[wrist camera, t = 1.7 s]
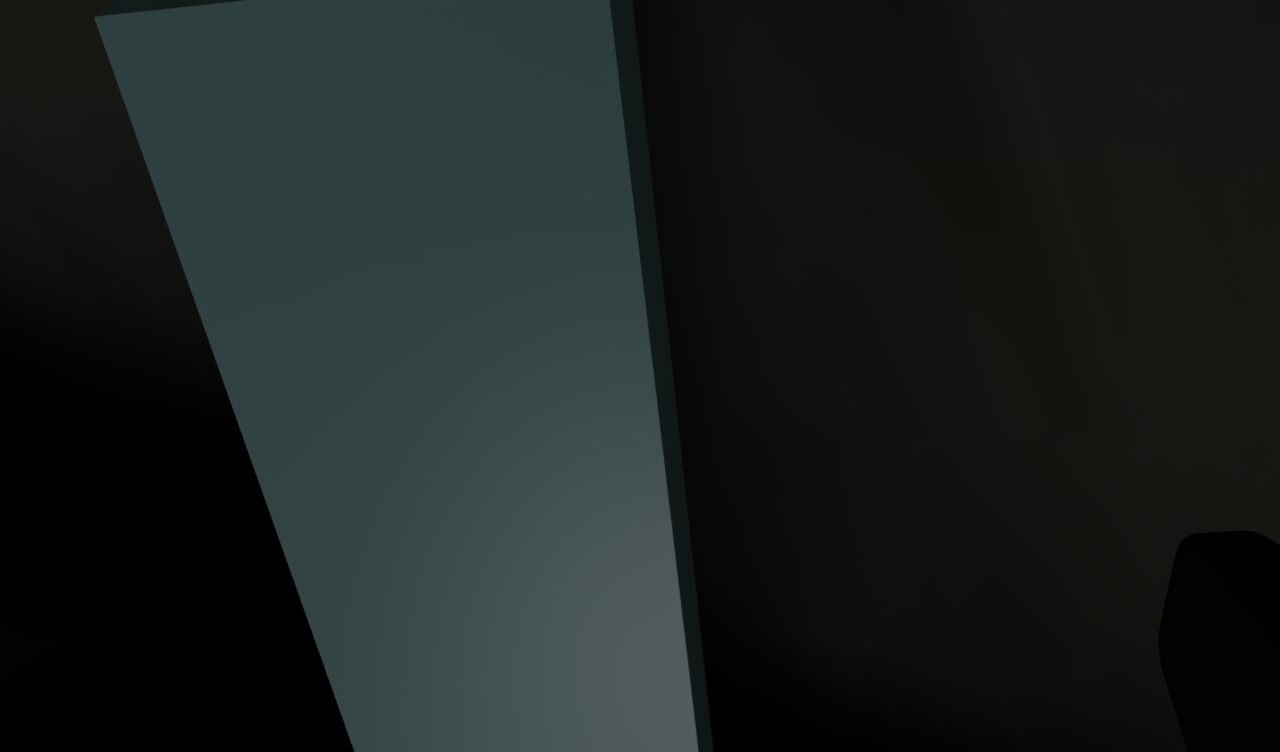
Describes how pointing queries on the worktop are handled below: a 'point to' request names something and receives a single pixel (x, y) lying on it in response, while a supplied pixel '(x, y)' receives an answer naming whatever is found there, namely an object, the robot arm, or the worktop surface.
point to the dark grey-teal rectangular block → (441, 350)
